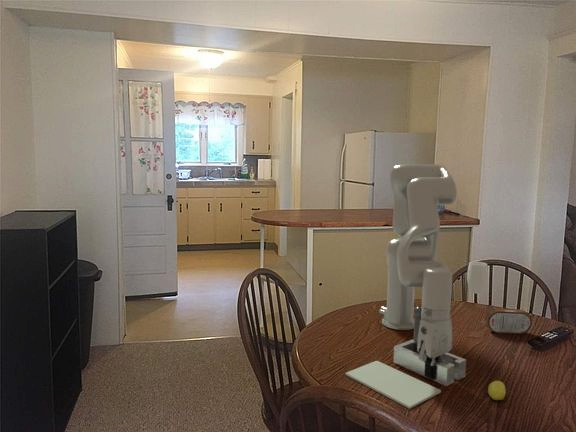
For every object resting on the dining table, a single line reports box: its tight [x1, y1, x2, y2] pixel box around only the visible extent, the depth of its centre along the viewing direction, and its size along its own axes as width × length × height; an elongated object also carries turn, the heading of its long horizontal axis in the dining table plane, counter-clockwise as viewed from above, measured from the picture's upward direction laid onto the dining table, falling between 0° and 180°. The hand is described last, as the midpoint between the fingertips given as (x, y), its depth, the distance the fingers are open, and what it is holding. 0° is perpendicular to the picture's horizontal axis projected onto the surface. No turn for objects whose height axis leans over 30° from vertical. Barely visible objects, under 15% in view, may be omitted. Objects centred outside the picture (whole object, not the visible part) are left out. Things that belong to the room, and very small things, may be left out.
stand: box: [413, 306, 422, 354], centre depth 137 cm, size 4×4×18 cm
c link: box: [392, 338, 467, 387], centre depth 135 cm, size 18×9×5 cm, turn 38°
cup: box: [466, 261, 489, 295], centre depth 178 cm, size 7×7×21 cm
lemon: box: [487, 380, 507, 401], centre depth 120 cm, size 4×8×4 cm, turn 148°
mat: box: [345, 360, 442, 410], centre depth 127 cm, size 22×13×1 cm, turn 38°
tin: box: [484, 307, 533, 335], centre depth 163 cm, size 15×3×8 cm, turn 84°
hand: (432, 376), depth 130 cm, fingers closed on c link, 1 cm apart
